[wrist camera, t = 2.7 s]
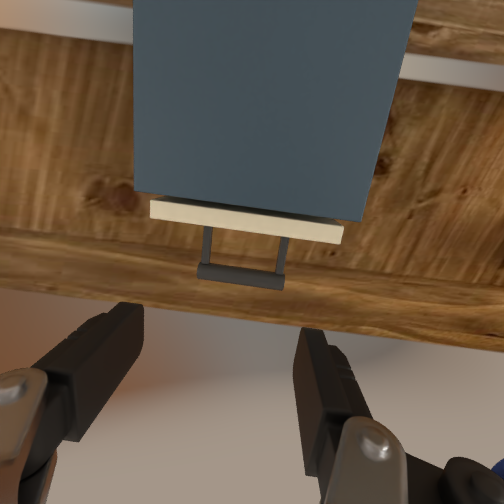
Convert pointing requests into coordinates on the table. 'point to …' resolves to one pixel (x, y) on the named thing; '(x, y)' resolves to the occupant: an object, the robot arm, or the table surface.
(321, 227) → the drawer
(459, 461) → the robot arm
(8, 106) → the table surface
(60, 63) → the table surface
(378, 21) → the cabinet
